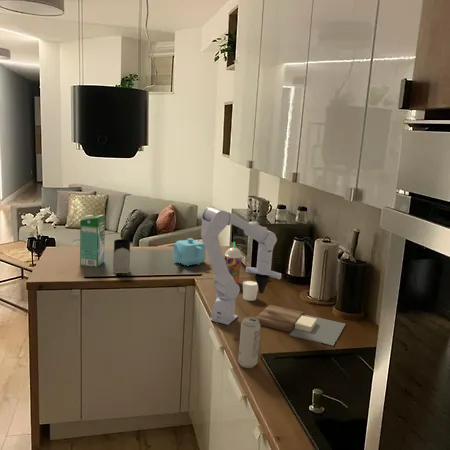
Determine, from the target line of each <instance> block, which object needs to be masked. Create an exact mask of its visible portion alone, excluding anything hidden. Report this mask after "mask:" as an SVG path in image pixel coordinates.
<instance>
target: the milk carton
mask: <svg viewBox="0 0 450 450" xmlns="http://www.w3.org/2000/svg"><path fill="white" fill-rule="evenodd" d="M79 222H80V224H79V225H80V226H79V227H80V229H79V231H80V232H79V237H80V238H79V239H80V240H79V246H80V247H79V265H80V266H84V267H93V266H95V267H94V268H98V267H99V266H101V265H102V264H104V263H105V244H106V243H105V241H106V239H105V236H106V230H105V229H106V214H99V215H94V214H89V215H85V218H83V219H80V221H79ZM103 262H104V263H103Z"/></svg>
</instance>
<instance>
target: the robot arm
mask: <svg viewBox="0 0 450 450" xmlns="http://www.w3.org/2000/svg"><path fill="white" fill-rule="evenodd" d="M200 220H201V228H200V237H201V240H202V241H201V242H203V243H204V246H205V253H206V254H207V257H208V261H209V262H210V265H211V267H212V271H213V272H214V275H213V288H214V289H215V291H216V299H215V301H214V302H213V303H212V308H211V309H212V310H211V317H210V318H209V321H211V322H216V323H220V324H223V325H227V326H228V325H230V324H231V323H232V322H233V321H234V320H236V319H237V318H238V317H239V316H238V315H237V314H235V309H236V308H235V307H236V299H237V297H238V296H239V294H240V292H241V291H240V290H241V288H240V285H239V283H238V282H237V283H236V282H235V280H234V278H233V277H232V276H231V275H230V273H229V271H228V268H227V265H226V262H225V259H224V253H223V251H222V249H221V246H220V243H219V239H218V236H219V235H220V233H221V232H223V231H224V229H225V228H226V227H227V226H231V225H233V226H235V227H236V228H237V227H238V228H239V229H241V230H243V232H244V234H245V236H247V237H249V238H251V239H252V240H255V241H256V242H258V249H257V257H256V259H257V260H256V267H252V266H246V267H245V271H244V272H245V273H250V274H253V275H254V279H255V282H257V284H258V293H259V294H264V293H265V289H266V287H267V284H268V283H269V281H270V279H271V278H274V279H276V280H281V279H282V273H281V272H278V271H274V270H271V269H272V262H273V253H274V252H273V249H274V248H275V245H276V244H277V241H278V238H277V236H276V234H275V232H273V231H270V230H268V228H267V227H266V226H261V225H260V224H259V223H260V222H258V221H255V220H254V221H249V222H248V221H246V220H244V219H242V218H241V217H239V216H237V215H236V214H234V213H232V212H229V211H226V210H223V209H221V208H217V207H215V206H212V205H211V206H209V205H208V206H207V207H206V208H205V209H204V210H203V211H202V213H201V216H200Z"/></svg>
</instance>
